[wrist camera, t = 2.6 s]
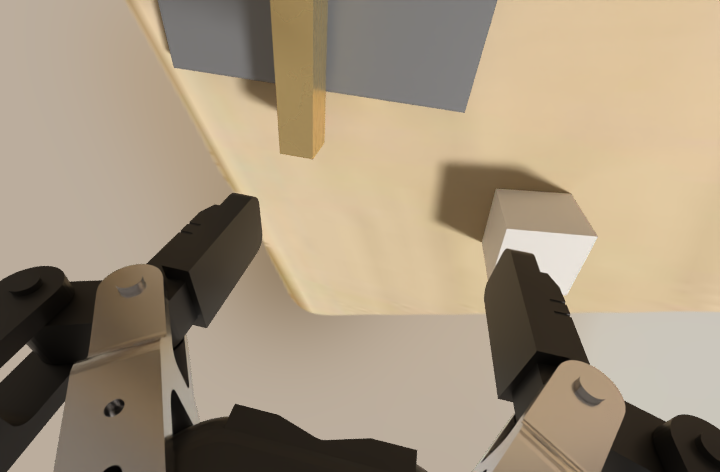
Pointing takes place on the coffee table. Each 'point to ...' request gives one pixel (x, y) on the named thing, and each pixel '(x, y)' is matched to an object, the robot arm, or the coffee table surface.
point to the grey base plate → (344, 45)
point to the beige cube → (539, 232)
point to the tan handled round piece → (300, 73)
